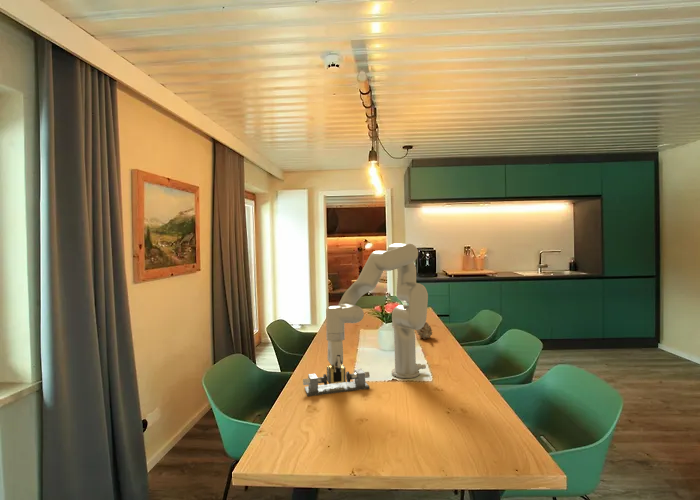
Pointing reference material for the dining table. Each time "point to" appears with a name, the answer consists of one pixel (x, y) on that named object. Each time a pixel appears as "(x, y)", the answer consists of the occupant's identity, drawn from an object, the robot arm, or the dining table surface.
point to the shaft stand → (336, 387)
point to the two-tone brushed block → (331, 374)
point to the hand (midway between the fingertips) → (336, 378)
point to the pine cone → (425, 331)
